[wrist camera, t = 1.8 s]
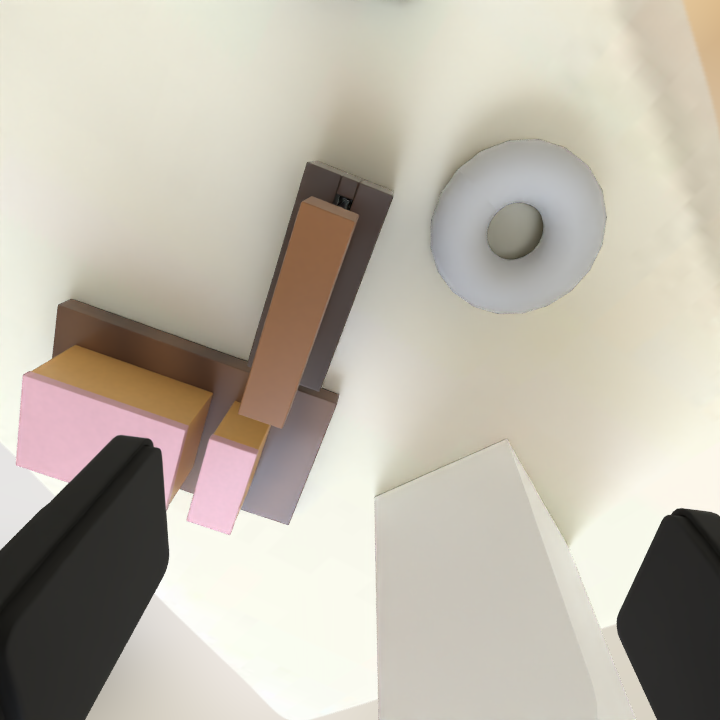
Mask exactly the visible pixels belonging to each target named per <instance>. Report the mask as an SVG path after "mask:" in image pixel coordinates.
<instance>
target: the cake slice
mask: <svg viewBox="0 0 720 720" xmlns="http://www.w3.org/2000/svg"><path fill="white" fill-rule="evenodd" d="M239 407H240V402H237V401H234V403H233V404H232V406H231V408H230V409H229V411H228V412H227V414H226V415H225V417H224V418H223V420H222V422H221V423H220V425H219V426H218V428H217V429H216V431H215V432H214V434H212V435H211V437H210V438H209V441H208V445H207V448H206V452H205V456H204V459H203V463H202V466H201V470H200V473H199V477H198V481H197V484H196V488H195V491H194V495H193V498H192V502H191V506H190V509H189V513H188V516H187V521H188V522H192V523H195V524H198V525H201V526H204V527H207V528H210V529H213V530H216V531H219V532H222V533H225V534H228V535H230V534H231V532H232V529H233V526H234V523H235V520H236V518H237V516H238V513H239V511H240V509H241V506H242V504H243V502H244V500H245V497H246V495H247V493H248V490H249V488H250V485H251V483H252V480H253V477H254V474H255V471H256V468H257V465H258V462H259V459H260V456H261V453H262V450H263V447H264V444H265V441H266V438H267V435H268V432H269V430H270V427H271V425H269V424H266V423H263V422H260V421H257V420H254V419H251V418H249V417H246V416H243V415H240V414H238V410H239Z"/></svg>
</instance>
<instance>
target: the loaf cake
mask: <svg viewBox="0 0 720 720" xmlns="http://www.w3.org/2000/svg"><path fill="white" fill-rule="evenodd" d="M212 395H213V393H212V392H209V391H206V390H203V389H200V388H197V387H195V386H192V385H189V384H186V383H183V382H180V381H177V380H175V379H172V378H169V377H166V376H163V375H160V374H157V373H155V372H152V371H149V370H146V369H143V368H140V367H137V366H135V365H132V364H129V363H126V362H123V361H120V360H117V359H115V358H112V357H109V356H106V355H103V354H100V353H97V352H95V351H92V350H89V349H86V348H83V347H80V346H77V345H74V346H73V347H71V348H69V349H68V350H66V351H64V352H63V353H61V354H59V355H58V356H56V357H54V358H53V359H51V360H49V361H48V362H46V363H44V364H43V365H41V366H39V367H38V368H36V369H34V370H33V371H29V372H27V373H25V374H24V375H23V380H22V393H21V406H20V418H19V431H18V444H17V456H16V465H17V466H20V467H23V468H26V469H29V470H32V471H35V472H38V473H41V474H44V475H47V476H50V477H53V478H56V479H59V480H63V481H66V482H70V481H71V480H72V479H73V478H74V477H75V476H76V475H77V474H78V473H79V472H80V471H81V470H82V469H83V468H84V467H85V466H86V465H87V464H88V463H89V462H90V461H91V460H92V459H93V458H94V457H95V456H96V455H97V454H98V453H99V452H100V451H101V450H102V449H103V448H104V447H105V446H106V445H107V444H108V443H109V442H110V441H111V440H112V439H113V438H114V437H116V436H117V435H126V436H134V437H141V438H149V439H151V440H152V442H153V445H154V447H157V448H160V450H161V452H162V461H163V475H164V489H165V503H166V510H167V509H168V506H169V504H170V503H171V501H172V499H173V498H174V496H175V495H176V493H177V492H178V490H179V489H180V487H181V485H182V484H183V482H184V481H185V479H186V478H187V476H188V474H189V473H190V471H191V470H192V468H193V465H194V462H195V458H196V454H197V451H198V447H199V443H200V440H201V436H202V432H203V429H204V425H205V421H206V417H207V414H208V410H209V406H210V403H211V399H212Z"/></svg>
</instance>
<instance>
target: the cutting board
mask: <svg viewBox="0 0 720 720" xmlns="http://www.w3.org/2000/svg"><path fill="white" fill-rule="evenodd" d="M74 345H77V346H80V347H83V348H86V349H89V350H92V351H95V352H97V353H100V354H103V355H106V356H109V357H112V358H115V359H117V360H120V361H123V362H126V363H129V364H132V365H135V366H137V367H140V368H143V369H146V370H149V371H152V372H155V373H157V374H160V375H163V376H166V377H169V378H172V379H175V380H177V381H180V382H183V383H186V384H189V385H192V386H195V387H197V388H200V389H203V390H206V391H209V392H212V393H213V395H212V399H211V403H210V406H209V410H208V414H207V417H206V421H205V425H204V429H203V432H202V436H201V440H200V443H199V447H198V451H197V454H196V458H195V462H194V465H193V468H192V470H191V471H190V473H189V474H188V476H187V478H186V479H185V481H184V482H183V484H182V485H181V487H180V489H181V490H184V491H187V492H190V493H193V494H194V491H195V488H196V484H197V481H198V477H199V473H200V470H201V466H202V463H203V459H204V456H205V452H206V448H207V445H208V441H209V438H210V437H211V435H212V434H214V432H215V431H216V429H217V428H218V426H219V425H220V423H221V422H222V420H223V418H224V417H225V415H226V414H227V412H228V411H229V409H230V408H231V406H232V404H233V403H234V401H237V402H240V403H241V400H242V397H243V393H244V390H245V387H246V384H247V380H248V377H249V374H250V370H251V367H248V366H247V363H248V362H247V361H244V360H241V359H238V358H236V357H233V356H230V355H227V354H224V353H222V352H219V351H216V350H213V349H210V348H208V347H205V346H202V345H199V344H196V343H194V342H191V341H188V340H185V339H182V338H180V337H177V336H174V335H171V334H168V333H166V332H163V331H160V330H157V329H154V328H152V327H149V326H146V325H143V324H141V323H138V322H135V321H132V320H129V319H127V318H124V317H121V316H118V315H115V314H113V313H110V312H107V311H104V310H101V309H99V308H96V307H93V306H90V305H87V304H85V303H82V302H79V301H76V300H73V299H70V300H67V301H65V302H63V303H61V304H59V305H58V309H57V318H56V327H55V337H54V346H53V356H52V359H53V358H54V357H56V356H58V355H59V354H61V353H63V352H64V351H66V350H68V349H69V348H71V347H73V346H74ZM338 397H339V394H336V393H333V392H331V391H328V390H325V389H322V388H321V390H320V391H316V390H313V389H310V388H307V387H305V386H302V385H299V387H298V390H297V392H296V395H295V398H294V401H293V404H292V406H291V409H290V411H289V414H288V416H287V419H286V421H285V424H284V426H283V428H282V429H280V428H277V427H274V426H272V425H271V427H270V430H269V432H268V435H267V438H266V441H265V444H264V447H263V450H262V453H261V456H260V459H259V462H258V465H257V468H256V471H255V474H254V477H253V480H252V483H251V485H250V488H249V490H248V493H247V495H246V497H245V500H244V502H243V504H242V506H241V510H244V511H247V512H250V513H253V514H256V515H259V516H262V517H265V518H268V519H271V520H274V521H277V522H280V523H283V524H286V525H289V523H290V520H291V518H292V515H293V513H294V510H295V508H296V505H297V503H298V500H299V498H300V495H301V493H302V490H303V488H304V485H305V483H306V480H307V478H308V475H309V473H310V470H311V468H312V465H313V463H314V460H315V458H316V455H317V453H318V450H319V448H320V445H321V443H322V440H323V438H324V435H325V433H326V430H327V428H328V425H329V423H330V420H331V418H332V415H333V413H334V410H335V408H336V405H337V401H338Z"/></svg>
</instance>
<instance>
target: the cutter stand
mask: <svg viewBox="0 0 720 720" xmlns="http://www.w3.org/2000/svg"><path fill="white" fill-rule="evenodd" d="M340 195H341V196H343V197H346V198H349V199H351V200H353V202H352V205H351V208H350V211H351V212H354V213H356V214H358V215H359V218H358V220H357V223H356V226H355V229H354V232H353V234H352V237H351V240H350V243H349V246H348V249H347V251H346V254H345V257H344V260H343V263H342V265H341V268H340V271H339V274H338V277H337V280H336V282H335V285H334V288H333V291H332V294H331V297H330V299H329V302H328V305H327V308H326V311H325V313H324V316H323V319H322V322H321V325H320V328H319V330H318V333H317V336H316V339H315V342H314V344H313V347H312V350H311V353H310V356H309V359H308V361H307V364H306V367H305V370H304V373H303V376H302V378H301V381H300V384H299V385H302V386H305V387H307V388H310V389H313V390H316V391H320V390H321V387H322V384H323V382H324V379H325V376H326V374H327V371H328V368H329V366H330V363H331V360H332V358H333V355H334V352H335V350H336V347H337V345H338V342H339V339H340V337H341V334H342V331H343V329H344V326H345V323H346V321H347V318H348V315H349V313H350V310H351V307H352V305H353V302H354V299H355V297H356V294H357V292H358V289H359V286H360V284H361V281H362V278H363V276H364V273H365V270H366V268H367V265H368V262H369V260H370V257H371V254H372V252H373V249H374V246H375V244H376V241H377V239H378V236H379V233H380V231H381V228H382V225H383V223H384V220H385V217H386V215H387V212H388V209H389V207H390V204H391V201H392V199H393V191H392V190H390V189H387V188H385V187H382V186H379V185H377V184H374V183H372V182H369V181H367V180H363V179H362V178H359V177H357V176H354V175H352V174H349V173H348V174H347V172H344V171H342V170H339V169H337V168H334V167H332V166H329V165H327V164H324V163H322V162H319V161H312V162H307V164H306V167H305V171H304V174H303V177H302V181H301V184H300V187H299V191H298V194H297V198H296V201H295V204H294V208H293V211H292V214H291V218H290V221H289V225H288V228H287V231H286V235H285V238H284V241H283V245H282V248H281V252H280V255H279V258H278V262H277V265H276V268H275V272H274V275H273V279H272V282H271V285H270V289H269V292H268V295H267V299H266V302H265V305H264V309H263V312H262V316H261V319H260V322H259V326H258V329H257V332H256V336H255V339H254V343H253V346H252V349H251V353H250V356H249V359H248V363H247V366H248V367H252V364H253V360H254V357H255V354H256V350H257V347H258V344H259V340H260V337H261V334H262V331H263V327H264V324H265V321H266V317H267V314H268V311H269V307H270V304H271V301H272V297H273V294H274V291H275V287H276V284H277V281H278V277H279V274H280V271H281V268H282V264H283V261H284V258H285V254H286V251H287V248H288V244H289V241H290V238H291V234H292V231H293V228H294V224H295V221H296V218H297V214H298V211H299V208H300V205H301V202H302V201H304V200H306V199H307V198H309V197H311V196H313V197H316V198H318V199H321V200H323V201H326V202H328V203H331V204H333V205H336V206H337V204H338V201H339V198H340Z"/></svg>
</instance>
